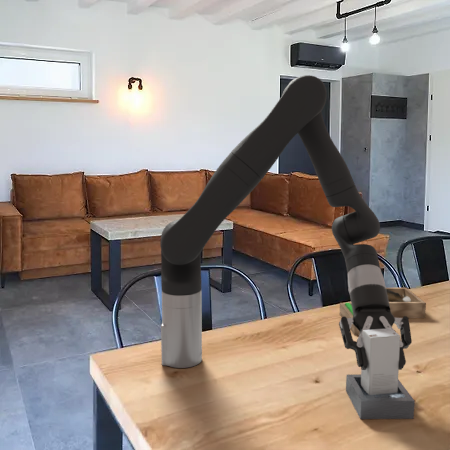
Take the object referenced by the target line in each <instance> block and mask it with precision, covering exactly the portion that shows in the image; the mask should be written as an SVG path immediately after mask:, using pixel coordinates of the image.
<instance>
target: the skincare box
mask: <svg viewBox="0 0 450 450" xmlns="http://www.w3.org/2000/svg"><path fill="white" fill-rule="evenodd" d="M362 340H363V343H364V344H363V348H364V349H365V355H366V360H367V368H366V370H361V369H360V370H361V372H360V374H361V386H362V387H363V389H364V390H365V391H366V392H367V393H368V394H369V395H378V394H389V393H397V392H398V379H399V371H400V370H399V351H400V340H401V334H399V333H398V332H396V331H395V329H394V330H392V329H391V328H387V329H373V330H363V335H362Z"/></svg>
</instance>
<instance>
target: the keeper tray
mask: <svg viewBox="0 0 450 450" xmlns="http://www.w3.org/2000/svg"><path fill="white" fill-rule="evenodd" d="M345 392H346V394H347V396H348V398H349V400H350V402H351V403H352V406H353V407H354V410H355V412H356V413H357V415H358V418H359V419H360V420H390V419H391V420H402V419H403V420H408V419H410V420H412V419H414V416H415V403H416V400H415V399H414V398H413V396H412V395H411V394H410V392H409V391H408V390H407V388H406V387H405V386H404V384H403V383H402V382H401V381H400V380H399V378H398V392H397V393H389V394H378V395H369V394H368V393H367V392H366V391H365V390H364V389H363V387H362V386H361V373H360V374H358V373H357V374H356V373H355V374H346V375H345Z"/></svg>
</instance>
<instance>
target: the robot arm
mask: <svg viewBox="0 0 450 450" xmlns="http://www.w3.org/2000/svg"><path fill="white" fill-rule="evenodd" d="M327 95H328V94H327V87H326V85H325V84H324V82H323V81H322V80H321V78H319V77H317V76H315V75H310V74H309V75H300V76H298V77H295V78H294V79H292V80H291V81H290V82H289V83H288V85H287V86H285V88H284V90H283V91H282V93H281V97H280V98H279V100H278V101H277V102H276V104H275V105H274V107H272V109H271V111H270V112H269V113H268V114H267V116H266V117H265V118H264V119H263V121H261V122H260V123H259V124H258V125H257V126H256V127H255V128H254V129H253V130H251V132H249V133H248V134H247V135H246V136H245V137H244V138H243V139H242V140H240V142H239V143H238V144H237V145H236V146H235V147H234V148H233V149H232V150H231V151H230V153H229V154H228V155H227V156H226V157H225V158H224V160H222V162H221V163H220V165H219V166H218V167H217V169H216V170H215V171H214V173H213V174H212V176H211V178H210V179H209V180H208V182H207V183H206V185H205V187H204V189H203V191H202V192H201V194H200V196H199V197H198V198H197V200H196V202H194V204H193V205H192V206H191V207H190V208H189V209H188V210H187V211H186V212H185V213H184V214H183V216H182V217H180V218H179V219H176V220H173V221H171V222H169V223H168V224H167V225H166V226H165V227H164V228H163V230H162V232H161V235H160V249H161V250H160V256H161V257H160V260H161V263H160V264H161V266H160V267H161V269H160V271H161V273H160V274H161V275H160V277H161V278H160V279H161V280H160V281H161V283H160V284H161V286H160V287H161V320H162V322H161V325H160V336H161V337H160V340H161V341H160V342H161V346H160V347H161V350H160V351H161V352H160V353H161V365H162V366H166V367H167V366H168V367H171V368H174V369H184V368H186V369H187V368H192V367H196V366H197V365H199V364H201V362H202V361H203V347H202V346H203V334H202V333H203V332H202V331H203V330H202V329H203V327H202V326H203V325H202V323H203V322H202V320H203V318H202V317H203V316H202V269H201V268H202V267H201V266H202V265H201V263H202V260H201V259H202V257H201V252H202V251H203V249H204V248H205V247H206V245H207V244H208V242H209V240H210V239H211V238H212V236H213V235H214V233H216V230H217V229H218V228H219V226H220V225H221V224H222V223H223V222H224V221H225V220H226V219H227V217H229V216H230V215H231V214H232V213H233V212H234V211H235V210H236V209H237V208H238V207H239V206H240V204H242V202H243V201H244V200H245V199H246V198H248V196H249V195H250V194H252V193H251V192H253V191H254V189H256V187H257V186H258V185H259V183H260V182H261V181H262V179H264V178H265V176H266V174H267V173H268V172H269V171H270V170H271V169H272V167H273V166H274V164H275V163H276V162H277V160H278V159H279V158H280V156H281V155H282V153H283V152H284V150H285V148H287V146H288V145H289V143H290V142H291V141H292V140H293V138H294V137H296V136H297V134H298V136H299V138H300V140H301V141H302V143H303V145H304V148H305V149H306V152H307V154H308V156H309V159H310V161H311V164H312V165H313V168H314V172H315V173H316V177H317V179H318V180H319V184H320V186H321V188H322V191H323V193H324V195H325V198H326V201H327V203H328V204H329V206H330V207H332V208H340V207H341V208H342V207H349V208H351V209H353V210H354V211H352V212H349V213H347V214H345V215H341V216H338V217H336V218H335V219H334V220H333V221H332V224H331V234H332V235H333V237H334V239H335V241H336V243H337V244H338V246H339V249H340V250H341V253H342V255H343V257H344V261H345V267H346V273H347V287H348V289H347V290H348V293H349V297H350V298H349V299H350V303H351V304H352V310H353V318H346V317H341V318H340V320H339V323H338V325H339V330H340V334H341V337H342V340H343V345H344V348H345V349H346V350H352V351H354V352H355V357H356V359H355V360H356V364H357V366H358V367H359V368H360V370H366V368H367V360H366V355H365V349H364V348H363V344H364V343H363V340H362V335H363V330H373V329H387V328H391V329H392V330H394V331H395V329H394V328H393V326H394V325H396V327H397V329H398V330H399V331H400V332H399V333H400V351H399V371H402V370H403V369H404V368H405V365H406V363H407V361H406V356H405V352H404V350H407V349H408V348H409V346H410V345H411V344H413V343H412V341H413V340H412V333H411V327H410V318H408V317H407V316H404V317H403V318H395V317H394V316H393V315H392V313H391V310H390V305H389V300H388V295H387V291H386V288H387V286H386V282H385V278H384V275H383V273H382V270H381V265H380V261H379V255H378V253H377V250H376V248H375V247H374V246H372V245H371V244H367V243H361V242H364V241H368V240H371V239H373V238H376V237H377V236H379V233H380V229H381V224H380V221H379V220H380V219H378V217H377V215H376V214H375V212H374V211H373V210H372V209H371V208H370V206H369V205H368V204H367V203H366V202H365V200H364V199H363V197H362V196H361V194H360V192H359V190H358V187H357V186H356V184H355V181H354V179H353V176H352V174H351V172H350V171H351V170H350V168H349V167H348V165H347V163H346V161H345V160H344V158H343V156H342V154H341V152H340V151H339V149H338V148H337V146H336V144H335V143H334V141H333V139H332V138H331V136H330V134H329V131H328V129H327V126H326V123H325V121H324V116H323V112H322V111H323V110H324V107H325V105H326V102H327V97H328V96H327ZM358 243H359V244H358ZM352 324H353V325H354V326H355V327H356V328H357V329H358V330H359V331H360V334H359V335H358V337H357V338H356V339H357V340H354V339H353V335H352V331H351V330H350V328H351V326H352Z"/></svg>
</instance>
